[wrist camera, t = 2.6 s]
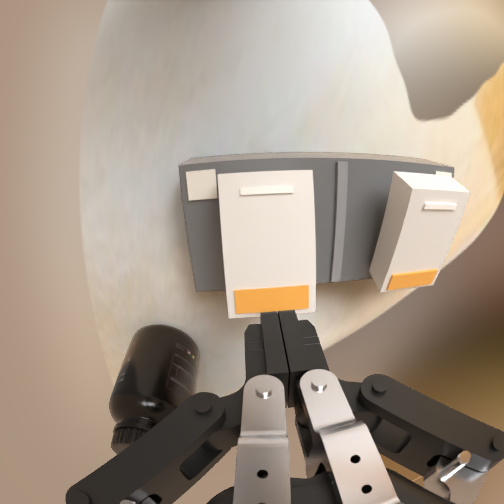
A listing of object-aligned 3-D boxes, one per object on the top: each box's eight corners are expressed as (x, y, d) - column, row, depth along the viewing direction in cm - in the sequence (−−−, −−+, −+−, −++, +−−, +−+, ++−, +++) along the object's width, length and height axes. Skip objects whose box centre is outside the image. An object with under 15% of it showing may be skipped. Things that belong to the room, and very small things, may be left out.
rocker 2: (393, 171, 13) (414, 189, 11) (450, 176, 13) (471, 193, 11) (369, 270, 17) (380, 294, 15) (420, 265, 17) (433, 286, 15)
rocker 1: (221, 177, 14) (217, 173, 12) (303, 173, 14) (313, 169, 12) (230, 304, 16) (228, 319, 13) (307, 298, 16) (316, 313, 14)
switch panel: (190, 158, 18) (177, 166, 14) (423, 158, 18) (456, 168, 14) (203, 263, 21) (195, 294, 17) (412, 249, 21) (439, 272, 18)
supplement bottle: (158, 375, 27) (136, 472, 16) (120, 331, 24) (77, 433, 13) (213, 362, 26) (206, 472, 15) (178, 312, 23) (147, 433, 12)
